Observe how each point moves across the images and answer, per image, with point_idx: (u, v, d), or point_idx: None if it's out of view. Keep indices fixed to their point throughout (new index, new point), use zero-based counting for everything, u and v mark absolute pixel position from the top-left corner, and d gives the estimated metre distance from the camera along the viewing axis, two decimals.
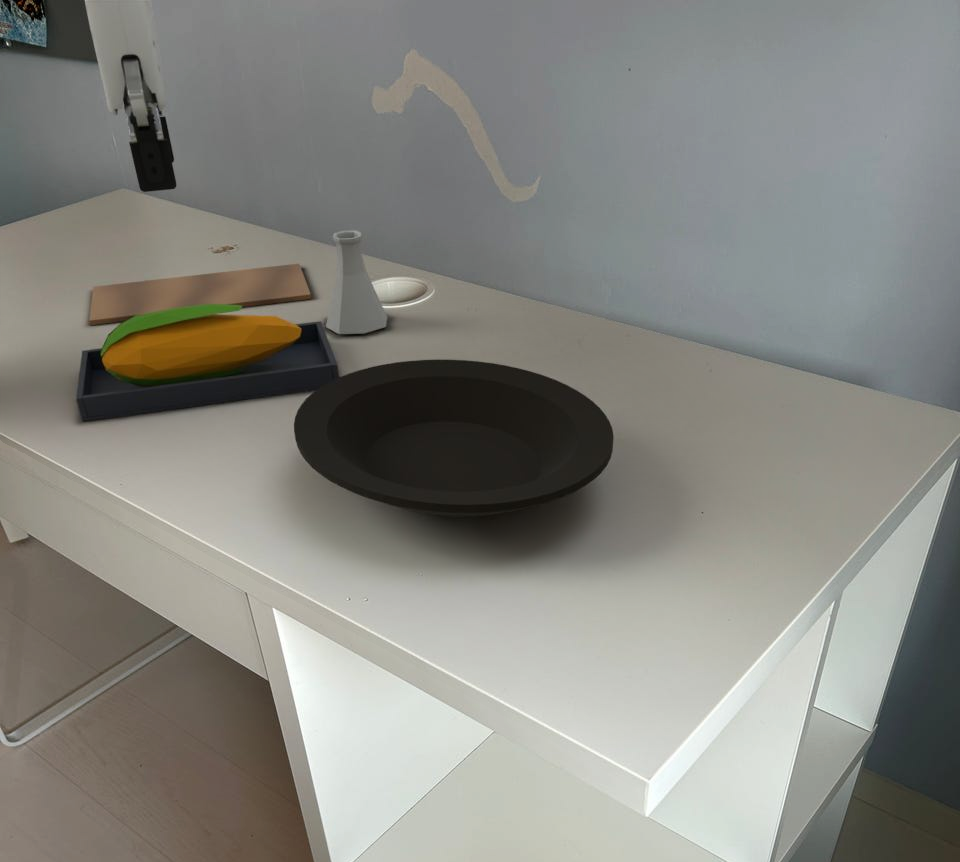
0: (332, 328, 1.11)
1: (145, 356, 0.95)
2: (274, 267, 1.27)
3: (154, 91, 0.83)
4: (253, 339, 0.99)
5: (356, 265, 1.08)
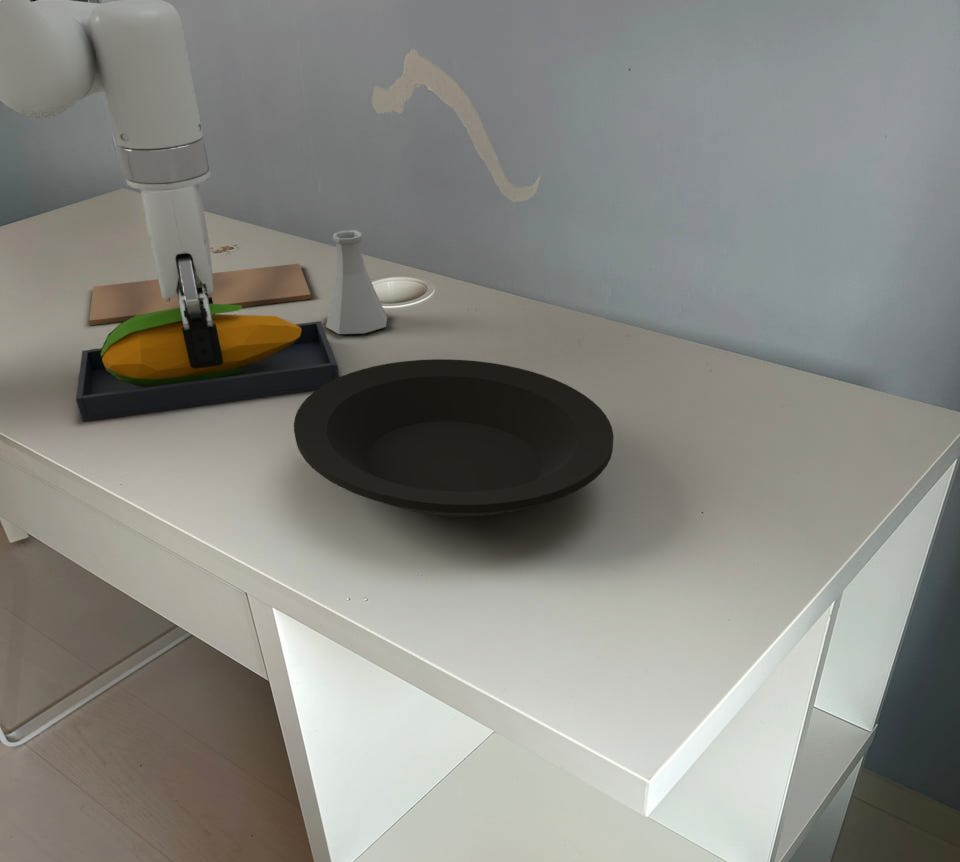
0: (332, 328, 1.11)
1: (145, 356, 0.95)
2: (274, 267, 1.27)
3: (204, 282, 0.92)
4: (253, 339, 0.99)
5: (356, 265, 1.08)
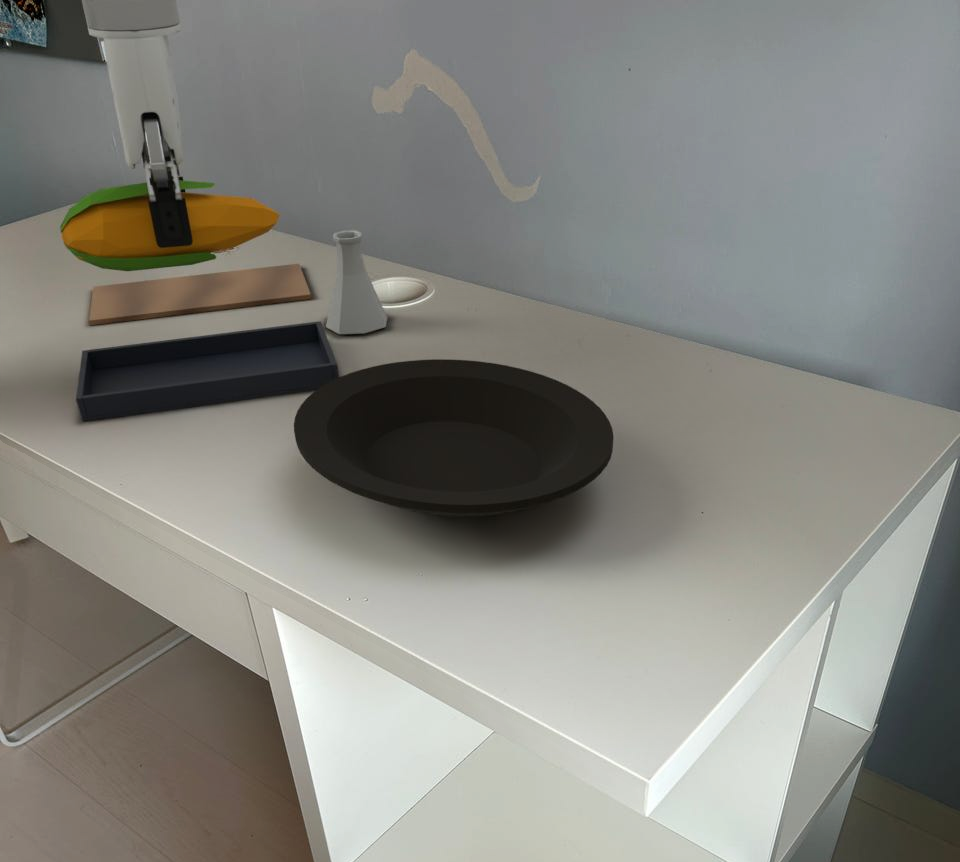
0: (332, 328, 1.11)
1: (108, 231, 0.88)
2: (274, 267, 1.27)
3: (172, 147, 0.84)
4: (226, 220, 0.92)
5: (356, 265, 1.08)
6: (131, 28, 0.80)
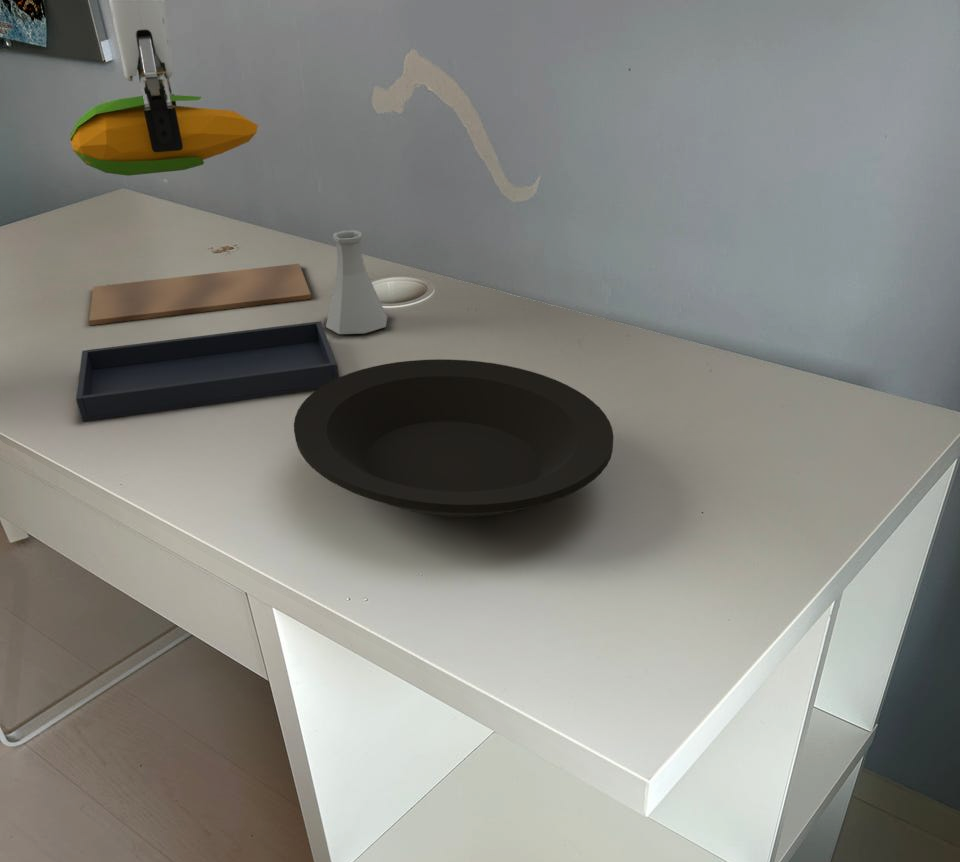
0: (332, 328, 1.11)
1: (110, 137, 1.03)
2: (274, 267, 1.27)
3: (163, 61, 0.99)
4: (212, 128, 1.07)
5: (356, 265, 1.08)
6: None
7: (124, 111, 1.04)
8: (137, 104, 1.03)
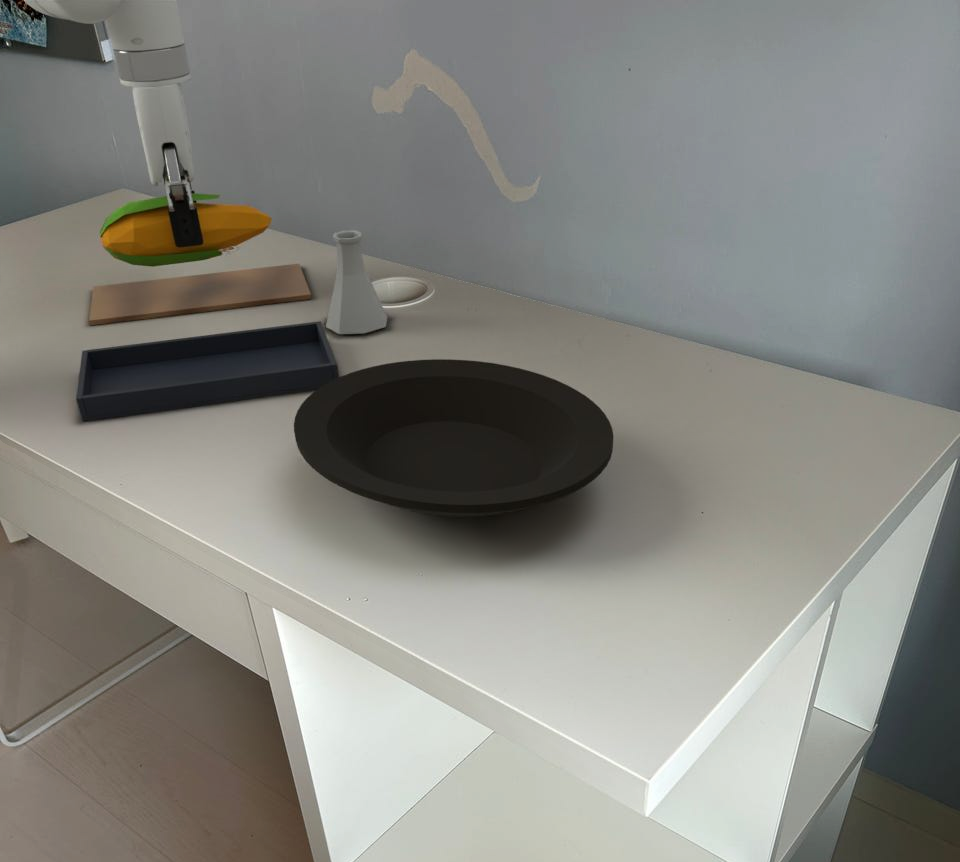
0: (332, 328, 1.11)
1: (137, 235, 1.13)
2: (274, 267, 1.27)
3: (186, 169, 1.09)
4: (229, 224, 1.16)
5: (356, 265, 1.08)
6: (153, 79, 1.04)
7: (149, 210, 1.13)
8: (161, 204, 1.13)
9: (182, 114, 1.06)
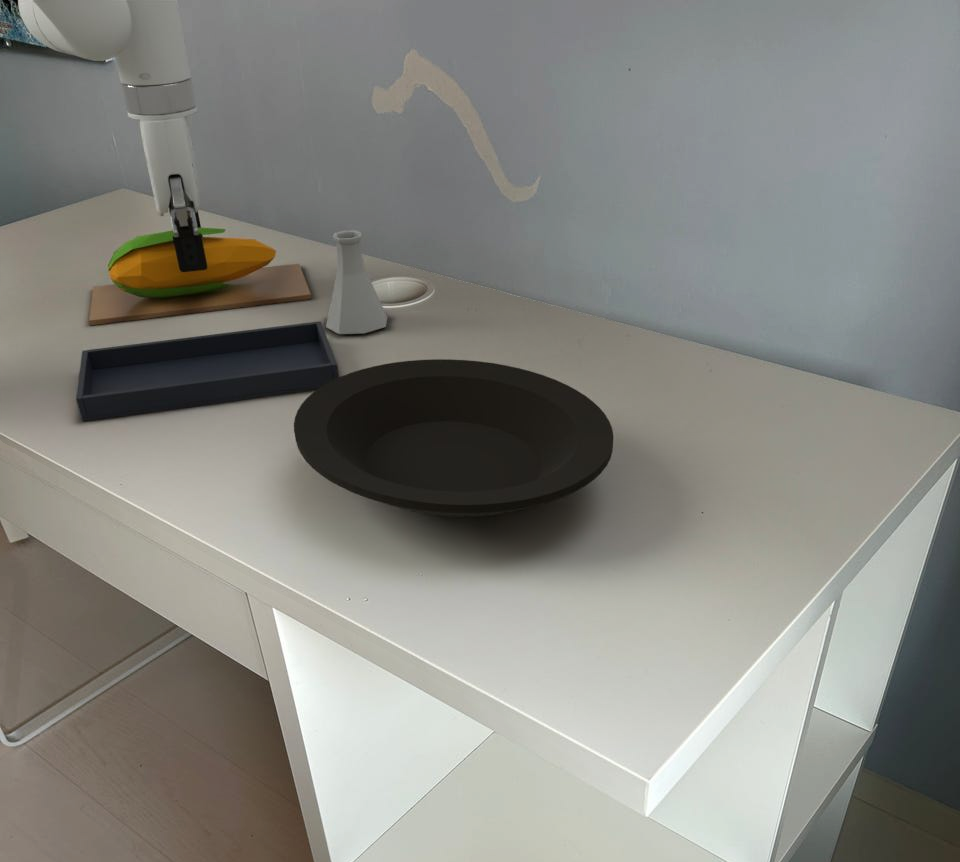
0: (332, 328, 1.11)
1: (145, 269, 1.15)
2: (274, 267, 1.27)
3: (192, 199, 1.11)
4: (235, 257, 1.18)
5: (356, 265, 1.08)
6: (160, 113, 1.06)
7: (157, 245, 1.16)
8: (168, 239, 1.15)
9: (188, 146, 1.08)
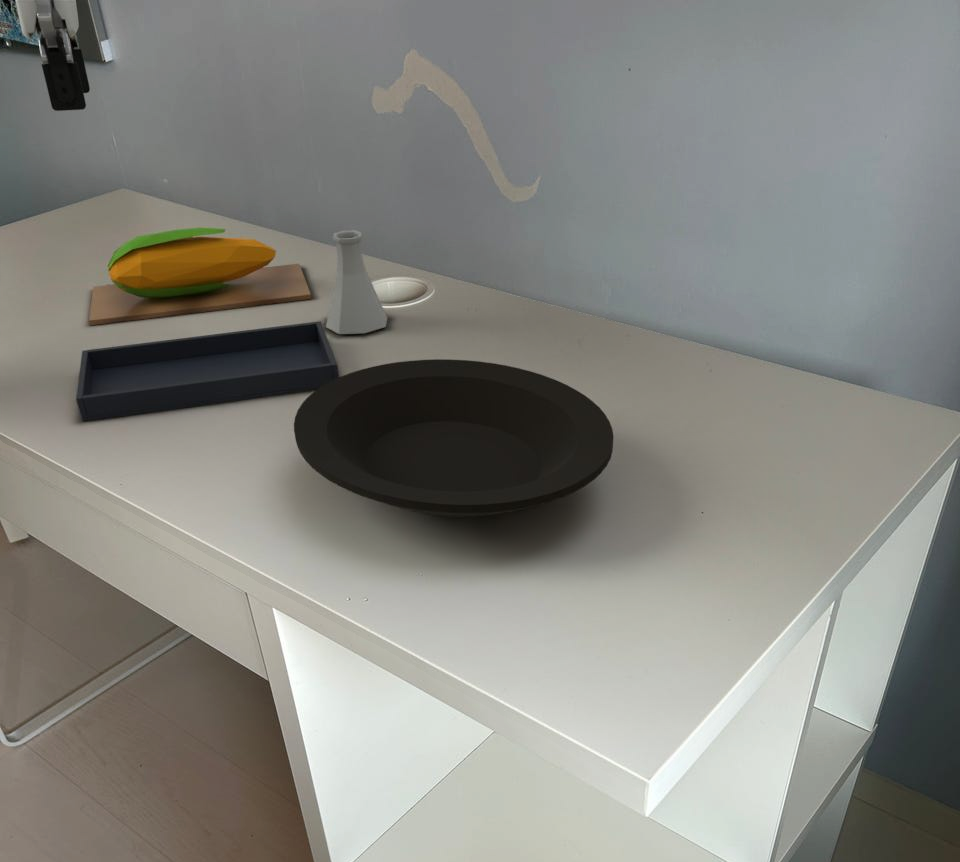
0: (332, 328, 1.11)
1: (145, 269, 1.15)
2: (274, 267, 1.27)
3: (64, 17, 0.93)
4: (235, 257, 1.18)
5: (356, 265, 1.08)
6: None
7: (157, 245, 1.16)
8: (168, 239, 1.15)
9: None
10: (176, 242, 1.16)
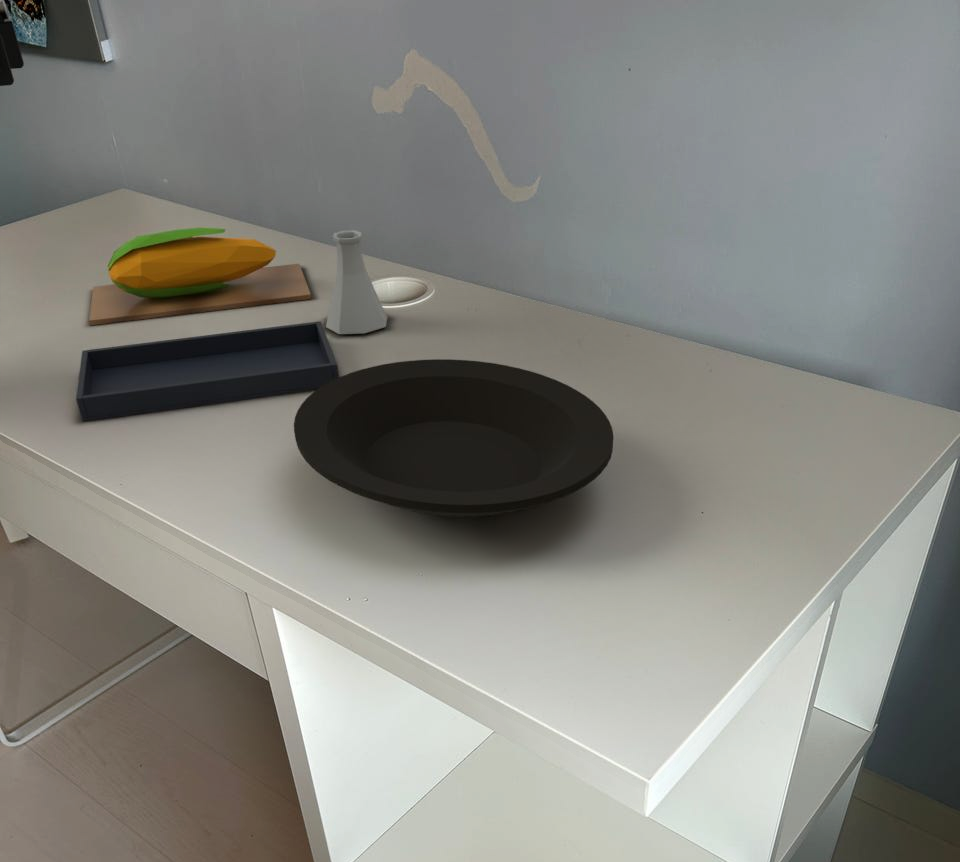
0: (332, 328, 1.11)
1: (145, 269, 1.15)
2: (274, 267, 1.27)
3: None
4: (235, 257, 1.18)
5: (356, 265, 1.08)
6: None
7: (157, 245, 1.16)
8: (168, 239, 1.15)
9: None
10: (176, 242, 1.16)
